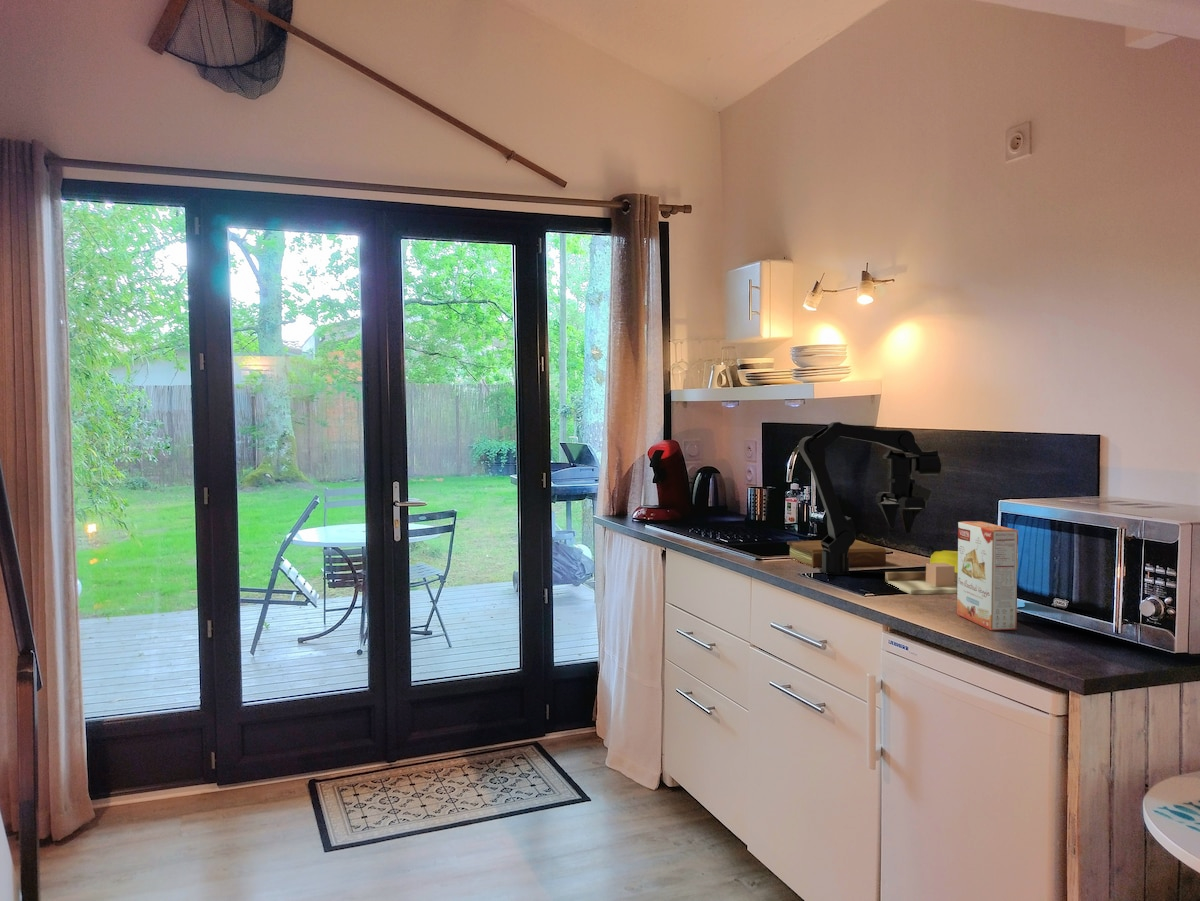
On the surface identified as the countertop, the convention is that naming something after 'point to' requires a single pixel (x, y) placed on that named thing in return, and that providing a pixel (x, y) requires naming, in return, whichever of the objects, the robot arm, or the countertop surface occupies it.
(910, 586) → the arena
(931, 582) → the cube
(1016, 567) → the cracker box
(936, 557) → the faceted yellow capsule
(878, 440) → the robot arm
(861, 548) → the diary
